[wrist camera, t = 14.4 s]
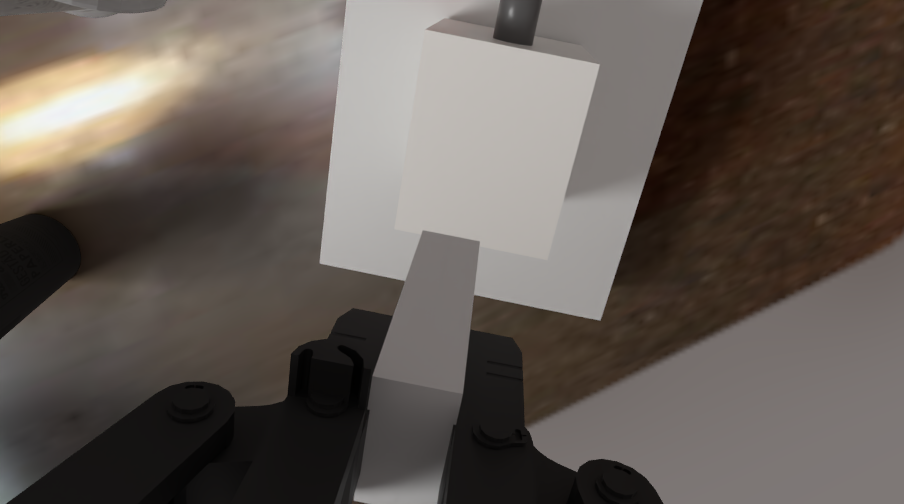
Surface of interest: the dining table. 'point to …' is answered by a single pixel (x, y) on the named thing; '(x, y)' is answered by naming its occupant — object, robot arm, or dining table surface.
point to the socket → (595, 165)
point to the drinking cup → (33, 265)
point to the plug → (494, 131)
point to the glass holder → (79, 7)
